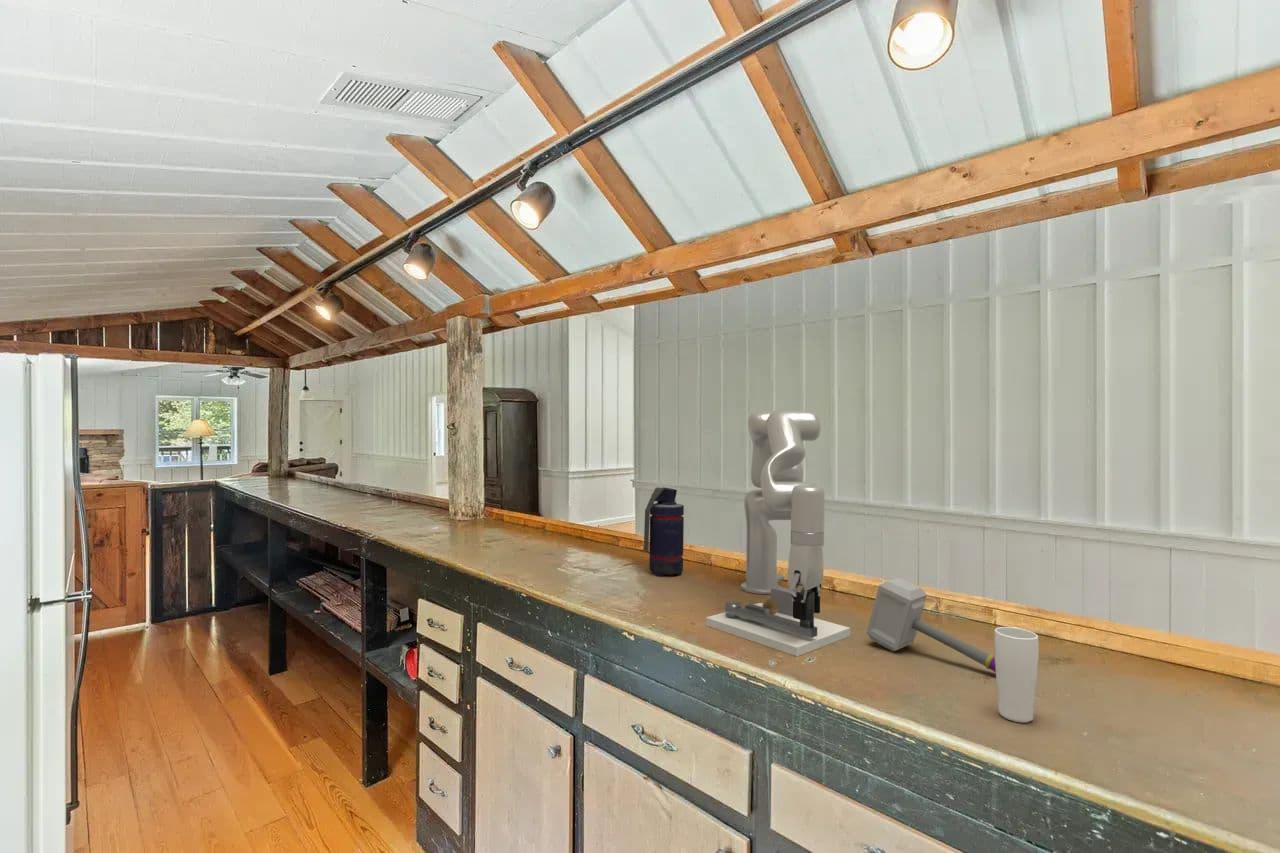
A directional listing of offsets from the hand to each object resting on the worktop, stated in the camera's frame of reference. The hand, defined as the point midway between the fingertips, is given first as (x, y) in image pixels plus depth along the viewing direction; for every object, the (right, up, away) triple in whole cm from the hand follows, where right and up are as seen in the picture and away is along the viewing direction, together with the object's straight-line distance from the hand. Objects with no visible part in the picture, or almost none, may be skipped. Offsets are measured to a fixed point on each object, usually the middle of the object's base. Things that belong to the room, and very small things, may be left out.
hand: (806, 614), depth 143 cm
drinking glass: (+28, -8, -34) cm, 45 cm away
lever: (-7, -5, +9) cm, 12 cm away
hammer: (+28, -8, -7) cm, 30 cm away
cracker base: (-4, -8, +12) cm, 15 cm away
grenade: (-31, -8, +72) cm, 79 cm away
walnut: (-5, -5, +17) cm, 18 cm away
